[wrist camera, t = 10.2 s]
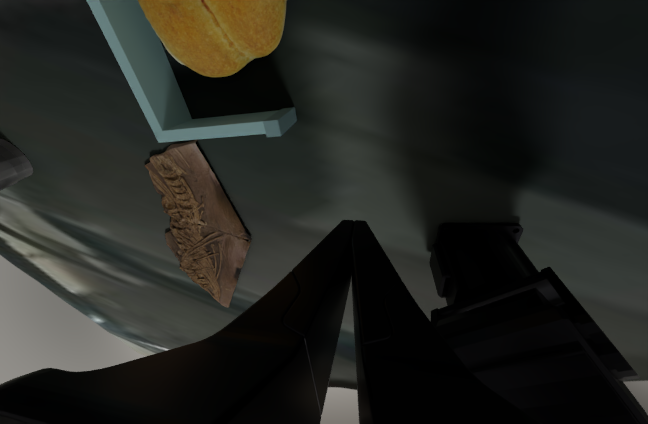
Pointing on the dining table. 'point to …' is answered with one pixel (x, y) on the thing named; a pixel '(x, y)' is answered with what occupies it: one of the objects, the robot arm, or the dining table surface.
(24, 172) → the beverage cup
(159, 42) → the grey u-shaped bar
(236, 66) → the bread roll
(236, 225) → the brown carved slab
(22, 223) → the dining table surface
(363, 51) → the dining table surface
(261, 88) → the dining table surface
